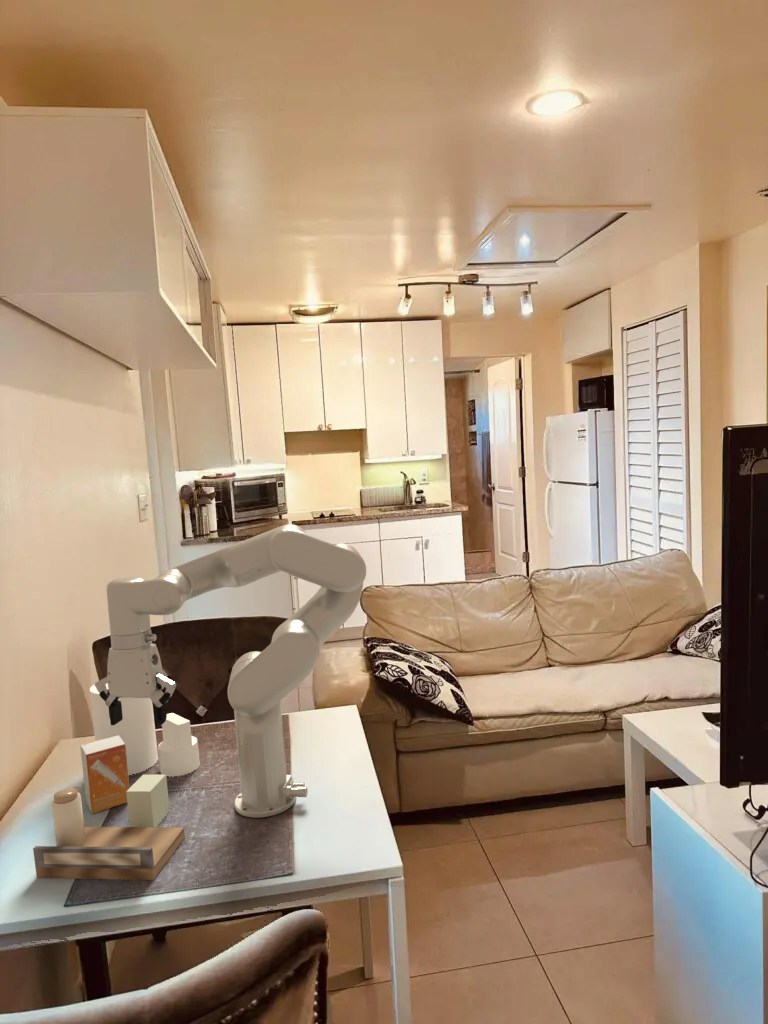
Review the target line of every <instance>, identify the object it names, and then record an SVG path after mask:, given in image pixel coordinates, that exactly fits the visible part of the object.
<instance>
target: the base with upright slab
mask: <svg viewBox="0 0 768 1024" xmlns="http://www.w3.org/2000/svg"><path fill="white" fill-rule="evenodd" d="M166 714H167V718H166V721H165V722H164V723H163V724H162V725H161V729H162V730H161V731H162V741H161V742H160V743H159V744H158V746H157V753H158V762H159V763H158V764H159V771H160V772H159V773H160V775H162V774H166V777H167V776H169V777H168V778H175V777H174V776H177V777H182V776H186V775H189V774H191V773H193V772H195V771H196V770H198V769H199V768H200V765H201V763H200V753H199V743H198V738H197V737H196V736H193V735H192V730H191V729H192V728H191V720H189V719H187V718H184V717H182V716H181V715H179V714H176V713H174V712H171V713H170V712H169V713H166ZM194 770H195V771H194ZM188 773H189V774H188ZM185 774H186V775H185ZM181 775H182V776H181ZM171 776H172V777H171Z"/></svg>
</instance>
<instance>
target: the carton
mask: <svg viewBox="0 0 768 1024" xmlns="http://www.w3.org/2000/svg"><path fill="white" fill-rule="evenodd" d="M168 789H169V788H168V779H167V776H166V774H142V775H141V776H140V777H139V778H138V779H137V780H136V781H135V782H134V783H133V784H132V785H130V786H129V789H128V790H127V791H126V794H127V803H126V804H127V811H128V820H129V821H128V822H129V827H158V826H159V825H160V824H161V823H162V821H163V820H164V819H165V818H166V817H165V816H168V814H169V813H170V812H171V811H170V801H169V791H168ZM169 811H170V812H169ZM168 812H169V813H168ZM167 813H168V814H167ZM164 817H165V818H164ZM163 818H164V819H163ZM162 819H163V820H162ZM160 822H161V823H160ZM159 823H160V824H159ZM158 824H159V825H158Z"/></svg>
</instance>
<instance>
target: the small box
mask: <svg viewBox="0 0 768 1024" xmlns="http://www.w3.org/2000/svg"><path fill="white" fill-rule="evenodd" d="M80 756H81V764H82V775H83V783H84V792H85V801H86V802H85V803H86V805H87V806H88V809H89V811H90V812H91V814H95V813H98V812H102V811H104V810H108V809H110V808H113V807H117V806H120V805H124V804H127V794H126V791H127V790H128V789H129V788H130V780H129V776H128V767H127V757H126V747H125V743H124V742H123V740H122V739H121V737H120V736H119V735H118V736H114V737H111V738H107V739H102V740H98V741H95V740H94V741H93V742H88V743H85V744H81V745H80Z"/></svg>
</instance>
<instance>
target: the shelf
mask: <svg viewBox="0 0 768 1024" xmlns="http://www.w3.org/2000/svg"><path fill="white" fill-rule="evenodd" d="M84 828H85V837H86V842H85V844H84V845H83V846H82V847H70V846H52V845H50V846H49V845H43V846H42V845H36V846H34V847H33V848H32V850H33V858H34V867H35V876H36V879H77V878H78V879H79V880H80V879H81V878H82V880H87V879H88V880H129V881H131V880H135V881H136V880H137V881H139V880H141V881H144V880H145V881H147V880H148V881H153V880H155V879H156V877H157V876H158V875H159V873H160V872H161V870H163V868H164V867H165V865H166V864H167V863H168V861H169V860H170V859H171V857H172V856H173V855H174V853H175V852H176V850H177V849H178V847H180V846H181V844H182V842H183V841H184V839H185V838H186V833H185V827H169V826H168V827H163V826H162V827H158V826H157V827H130V826H84ZM84 878H85V879H84ZM90 878H91V879H90ZM104 878H105V879H104Z"/></svg>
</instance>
